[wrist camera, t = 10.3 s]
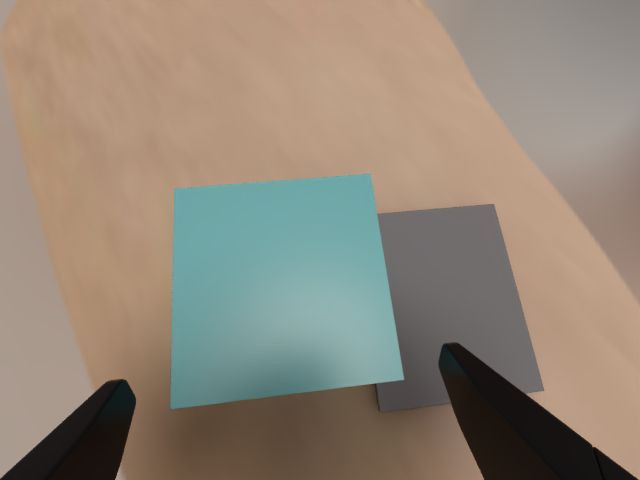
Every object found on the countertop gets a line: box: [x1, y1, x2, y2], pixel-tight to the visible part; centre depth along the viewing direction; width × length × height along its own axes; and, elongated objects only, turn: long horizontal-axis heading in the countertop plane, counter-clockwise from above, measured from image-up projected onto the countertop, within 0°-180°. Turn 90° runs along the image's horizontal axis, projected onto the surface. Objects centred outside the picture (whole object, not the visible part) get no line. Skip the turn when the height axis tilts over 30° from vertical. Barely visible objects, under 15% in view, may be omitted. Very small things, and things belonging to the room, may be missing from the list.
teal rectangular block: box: [170, 174, 404, 409], centre depth 15 cm, size 7×7×9 cm
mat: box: [375, 204, 544, 413], centre depth 19 cm, size 12×10×1 cm
